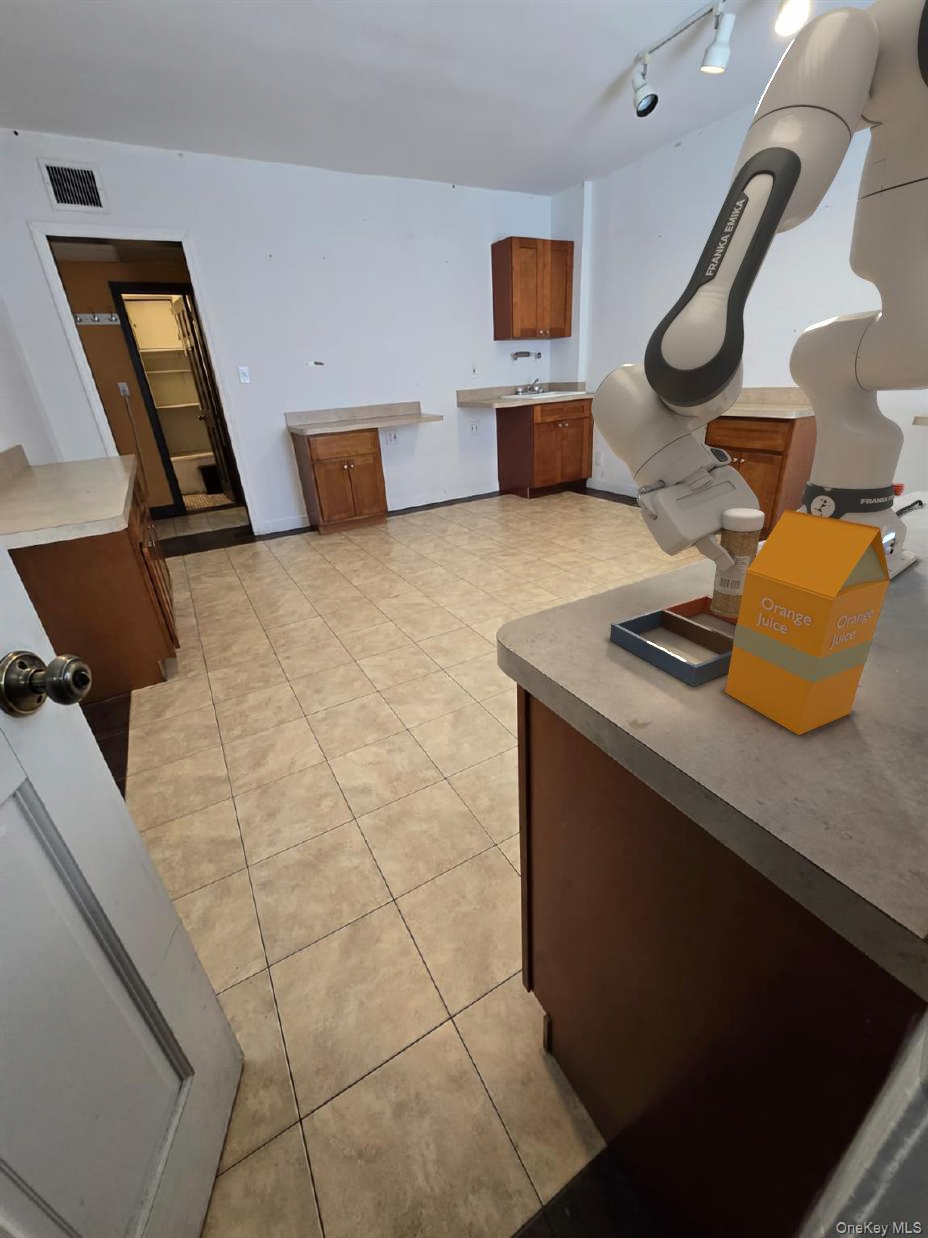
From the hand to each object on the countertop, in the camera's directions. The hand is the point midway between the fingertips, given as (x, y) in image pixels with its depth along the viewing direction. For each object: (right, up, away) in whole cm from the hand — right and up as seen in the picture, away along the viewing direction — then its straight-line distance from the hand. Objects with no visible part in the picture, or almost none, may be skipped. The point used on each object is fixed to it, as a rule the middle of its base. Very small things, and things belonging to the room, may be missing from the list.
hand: (741, 561), depth 65 cm
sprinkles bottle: (0, -7, +4) cm, 7 cm away
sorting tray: (-4, -10, +3) cm, 12 cm away
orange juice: (-1, -16, -10) cm, 19 cm away
